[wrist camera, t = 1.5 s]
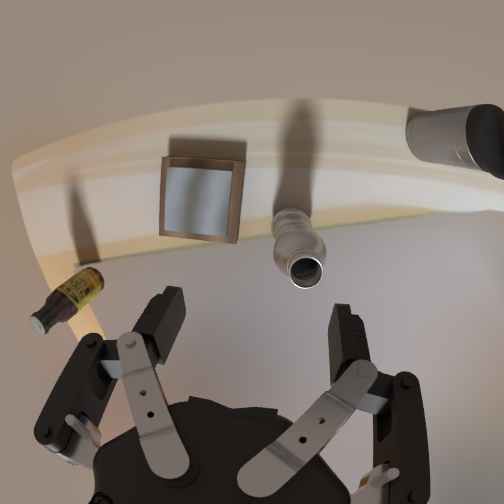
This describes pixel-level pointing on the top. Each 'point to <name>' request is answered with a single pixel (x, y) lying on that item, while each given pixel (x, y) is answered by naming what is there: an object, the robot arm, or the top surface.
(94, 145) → the top surface
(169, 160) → the plinth
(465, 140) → the robot arm
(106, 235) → the top surface
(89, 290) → the sauce bottle
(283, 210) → the silver bottle
